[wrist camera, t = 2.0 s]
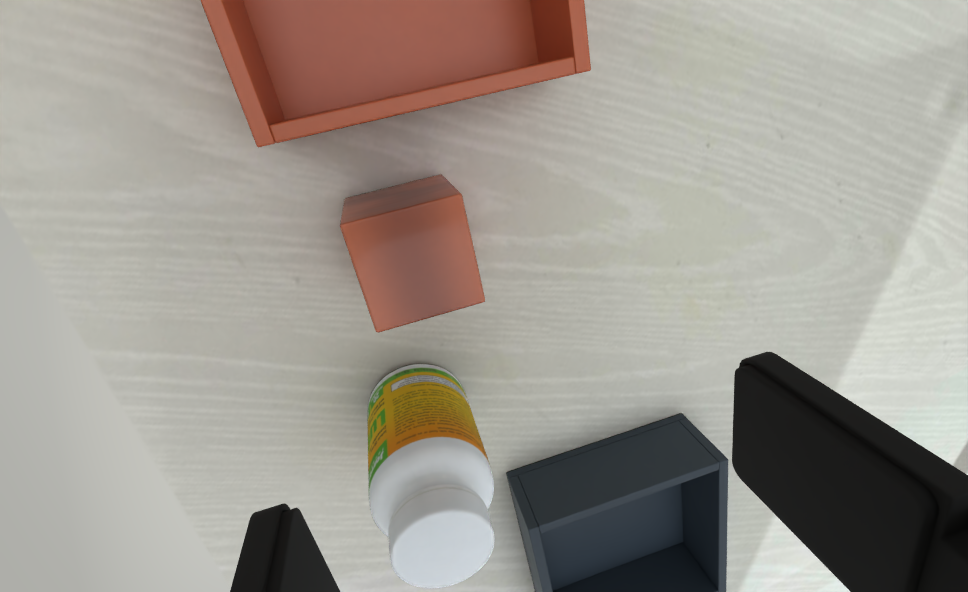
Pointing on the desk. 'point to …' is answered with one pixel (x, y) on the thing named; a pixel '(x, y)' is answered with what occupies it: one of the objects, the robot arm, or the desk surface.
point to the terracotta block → (412, 251)
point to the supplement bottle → (429, 477)
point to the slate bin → (627, 513)
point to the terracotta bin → (386, 56)
